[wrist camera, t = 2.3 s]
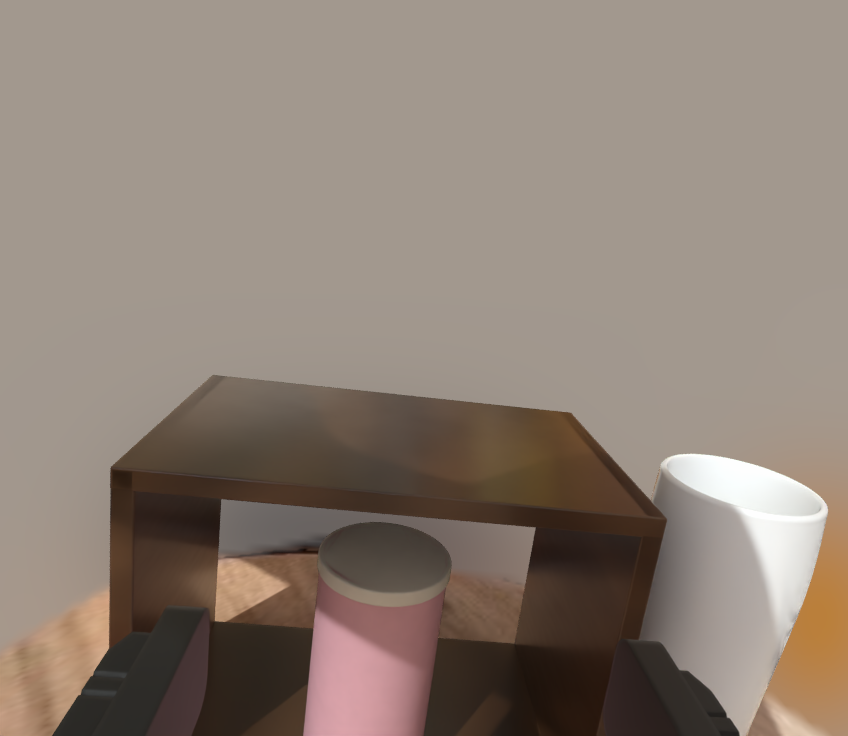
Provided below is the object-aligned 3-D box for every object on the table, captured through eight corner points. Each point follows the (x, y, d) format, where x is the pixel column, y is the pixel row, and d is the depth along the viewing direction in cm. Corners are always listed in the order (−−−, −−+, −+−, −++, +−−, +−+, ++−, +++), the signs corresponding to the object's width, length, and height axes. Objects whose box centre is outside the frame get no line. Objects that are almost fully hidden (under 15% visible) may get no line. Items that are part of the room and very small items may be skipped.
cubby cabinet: (106, 841, 24) (109, 466, 20) (199, 635, 35) (212, 374, 32) (587, 863, 25) (668, 518, 22) (524, 658, 37) (571, 412, 33)
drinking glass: (571, 719, 33) (628, 451, 29) (680, 705, 35) (745, 453, 31) (650, 844, 26) (734, 521, 23) (777, 818, 28) (872, 518, 25)
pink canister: (289, 810, 25) (310, 587, 22) (307, 706, 30) (325, 516, 28) (424, 817, 25) (458, 599, 23) (418, 713, 30) (445, 527, 28)
